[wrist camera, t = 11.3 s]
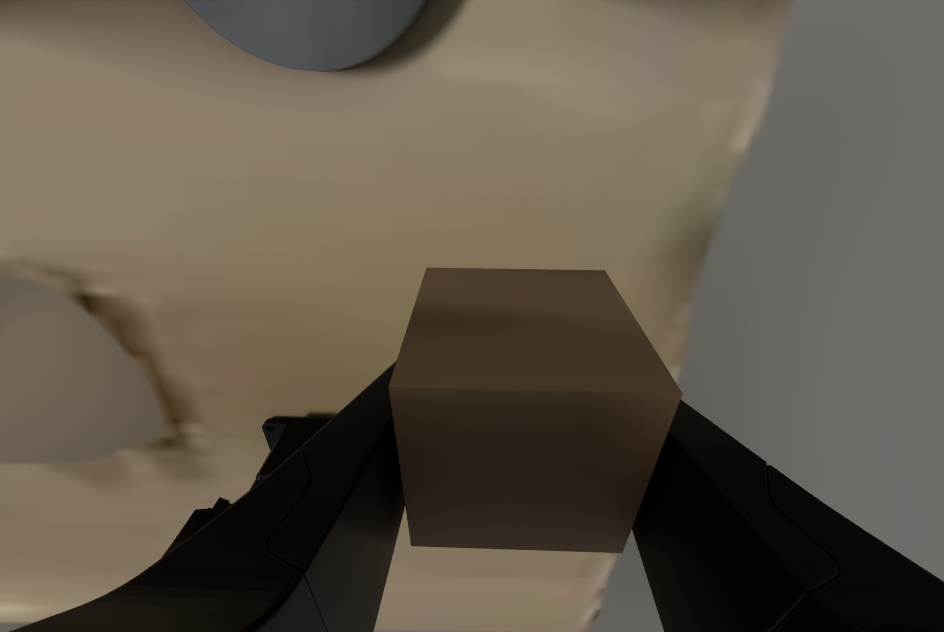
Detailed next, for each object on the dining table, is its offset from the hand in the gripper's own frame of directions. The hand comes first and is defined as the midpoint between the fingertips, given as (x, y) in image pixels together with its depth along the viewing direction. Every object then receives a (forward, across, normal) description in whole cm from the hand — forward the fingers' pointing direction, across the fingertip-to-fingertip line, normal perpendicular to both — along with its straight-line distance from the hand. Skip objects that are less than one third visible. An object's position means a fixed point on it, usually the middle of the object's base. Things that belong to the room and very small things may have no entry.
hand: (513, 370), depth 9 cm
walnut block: (+1, 0, 0) cm, 1 cm away
